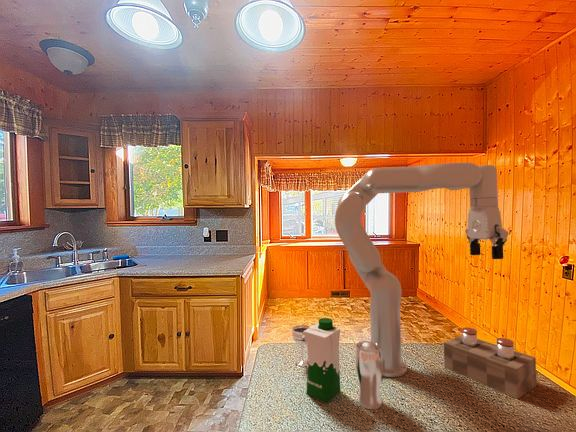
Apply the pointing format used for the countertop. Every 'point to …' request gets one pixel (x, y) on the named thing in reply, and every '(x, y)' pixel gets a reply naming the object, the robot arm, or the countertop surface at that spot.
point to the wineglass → (300, 339)
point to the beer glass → (369, 373)
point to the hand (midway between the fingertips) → (486, 256)
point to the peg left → (469, 337)
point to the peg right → (505, 349)
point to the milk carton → (323, 360)
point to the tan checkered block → (491, 366)
